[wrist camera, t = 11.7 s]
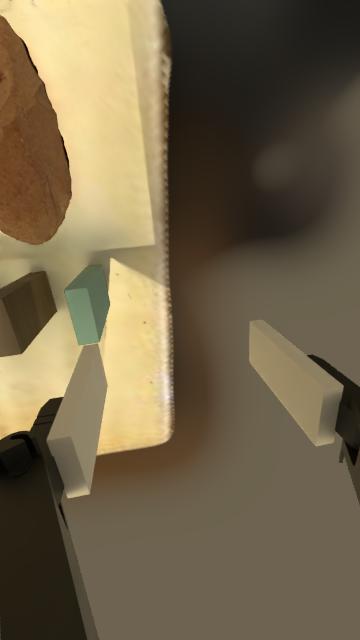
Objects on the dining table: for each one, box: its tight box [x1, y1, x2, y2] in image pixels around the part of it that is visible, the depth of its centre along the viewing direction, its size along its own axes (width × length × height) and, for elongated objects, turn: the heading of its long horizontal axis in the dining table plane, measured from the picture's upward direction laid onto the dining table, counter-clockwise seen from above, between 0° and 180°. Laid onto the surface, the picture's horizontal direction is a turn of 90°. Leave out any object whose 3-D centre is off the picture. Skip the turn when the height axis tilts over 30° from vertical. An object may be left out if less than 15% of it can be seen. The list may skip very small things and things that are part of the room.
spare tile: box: [64, 265, 110, 345], centre depth 27 cm, size 2×5×11 cm, turn 5°
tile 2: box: [0, 271, 57, 357], centre depth 26 cm, size 2×5×11 cm, turn 5°
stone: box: [0, 15, 72, 245], centre depth 24 cm, size 18×9×5 cm
